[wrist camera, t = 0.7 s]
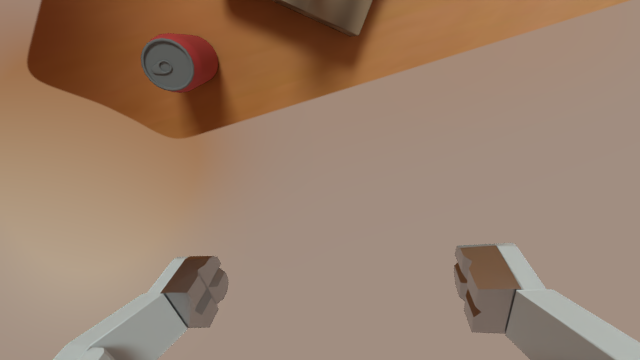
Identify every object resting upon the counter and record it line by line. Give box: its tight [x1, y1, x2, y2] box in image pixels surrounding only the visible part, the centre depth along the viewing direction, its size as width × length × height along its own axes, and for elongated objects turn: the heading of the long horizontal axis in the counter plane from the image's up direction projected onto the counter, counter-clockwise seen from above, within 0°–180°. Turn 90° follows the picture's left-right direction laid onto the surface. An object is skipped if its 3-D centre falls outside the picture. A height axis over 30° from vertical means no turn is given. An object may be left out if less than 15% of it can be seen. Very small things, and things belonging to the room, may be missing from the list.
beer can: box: [141, 33, 218, 93], centre depth 36 cm, size 7×7×12 cm
